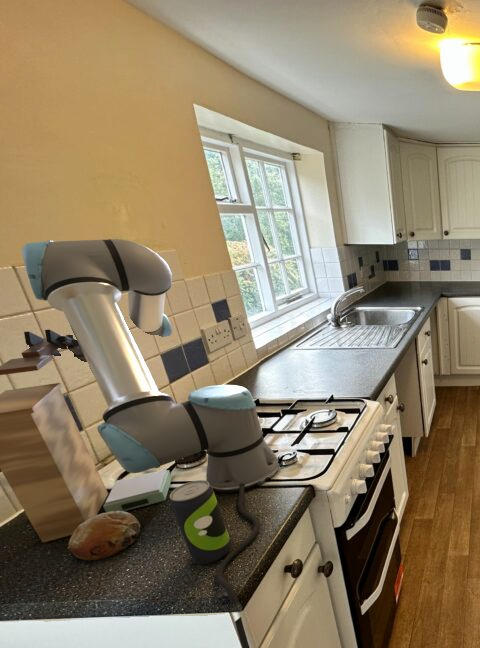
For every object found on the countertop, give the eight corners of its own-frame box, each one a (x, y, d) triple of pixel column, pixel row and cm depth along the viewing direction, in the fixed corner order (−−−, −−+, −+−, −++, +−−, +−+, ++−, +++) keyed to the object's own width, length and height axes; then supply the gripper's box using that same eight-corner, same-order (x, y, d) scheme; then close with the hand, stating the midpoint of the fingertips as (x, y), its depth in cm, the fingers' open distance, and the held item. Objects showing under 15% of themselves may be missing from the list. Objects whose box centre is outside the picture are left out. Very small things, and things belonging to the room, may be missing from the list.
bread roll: (139, 535, 88) (119, 503, 87) (154, 533, 83) (133, 499, 81) (78, 568, 80) (55, 533, 79) (90, 568, 74) (65, 531, 73)
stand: (92, 529, 85) (31, 407, 74) (38, 543, 81) (-34, 418, 70) (111, 492, 96) (60, 382, 85) (64, 504, 92) (5, 390, 82)
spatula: (38, 370, 80) (33, 360, 80) (-7, 376, 78) (-12, 366, 77) (75, 342, 98) (72, 334, 97) (40, 346, 95) (36, 337, 94)
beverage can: (200, 546, 81) (175, 483, 75) (236, 538, 82) (215, 476, 77) (188, 570, 75) (161, 504, 69) (227, 561, 77) (204, 496, 71)
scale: (165, 501, 93) (160, 490, 92) (106, 516, 89) (101, 505, 87) (172, 478, 101) (168, 467, 100) (119, 490, 97) (114, 480, 96)
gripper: (129, 369, 113) (89, 347, 92) (50, 379, 106) (-12, 359, 85) (124, 342, 113) (83, 315, 93) (45, 351, 106) (-18, 324, 85)
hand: (38, 336), depth 89 cm, fingers closed on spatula, 2 cm apart
